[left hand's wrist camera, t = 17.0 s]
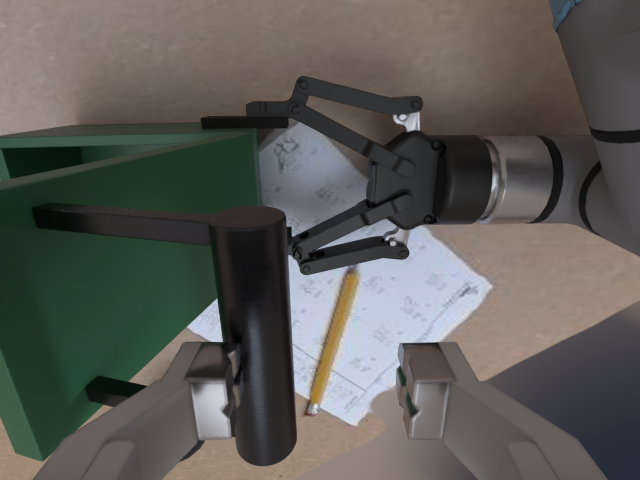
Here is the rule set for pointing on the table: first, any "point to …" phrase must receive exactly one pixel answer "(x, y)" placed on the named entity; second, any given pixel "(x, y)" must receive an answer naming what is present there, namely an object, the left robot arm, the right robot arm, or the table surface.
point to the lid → (141, 288)
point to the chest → (100, 145)
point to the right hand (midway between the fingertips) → (212, 182)
